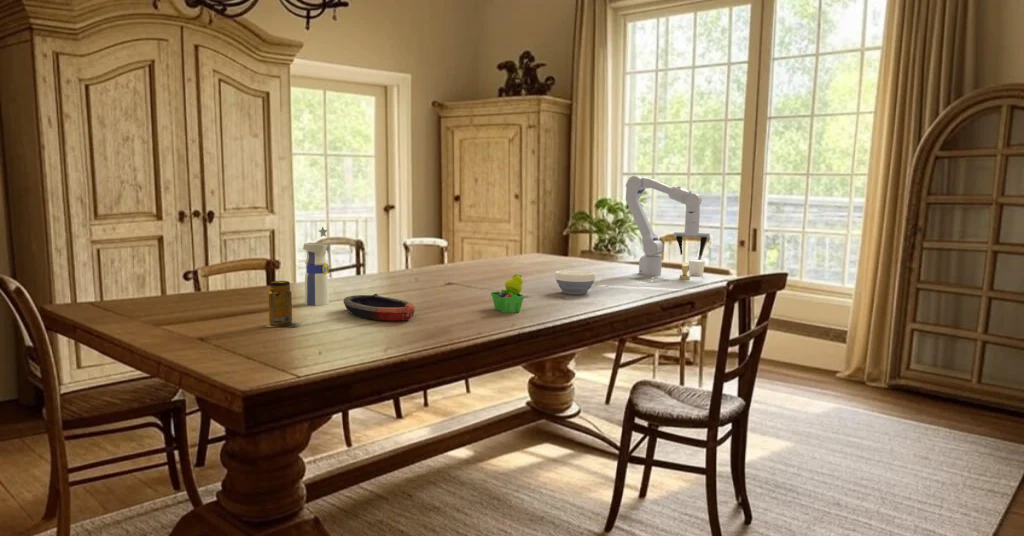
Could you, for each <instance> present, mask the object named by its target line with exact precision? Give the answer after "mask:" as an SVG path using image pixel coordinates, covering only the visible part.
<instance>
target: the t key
mask: <svg viewBox="0 0 1024 536" xmlns="http://www.w3.org/2000/svg"><path fill="white" fill-rule="evenodd" d="M681 272H682V274H679V280H685V281H688V280H689V281H690V279H691V275H689V274H688V272H689V263H682V264H681Z"/></svg>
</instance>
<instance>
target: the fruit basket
mask: <svg viewBox="0 0 1024 536" xmlns="http://www.w3.org/2000/svg"><path fill="white" fill-rule="evenodd" d="M523 283H524V279H523V278H522V275H521V274H518V273H514V275H513V276H512V277H511V278H510V279H508V280H506V281H505V283H504V287H505V289H501V291H492V292H490V295H491V297H492V301H493V306H494V309H496V310H498V311H500V312H502V313H504V314H506V313H508V314H509V313H520V312H521V308H522V305H523V302H524V299H525V296H524V295H523V294H522V293H521V292H522V290H523ZM520 293H521V294H520Z"/></svg>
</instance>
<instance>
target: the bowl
mask: <svg viewBox="0 0 1024 536" xmlns="http://www.w3.org/2000/svg"><path fill="white" fill-rule="evenodd" d="M554 279H555V281H556V283H557V285H558V287H559V289H560V290H561V292H562V293H563V294H564V295H569V296H570V295H571V296H583V295H586V294H587V293H588V291H589V290H590V289H591V288H592V285H593V284H594V282H595V280H596V273H595V272H594V271H591V270H590V271H589V270H578V269H563V270H556V271H555V273H554Z"/></svg>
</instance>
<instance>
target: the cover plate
mask: <svg viewBox="0 0 1024 536" xmlns="http://www.w3.org/2000/svg"><path fill="white" fill-rule="evenodd" d="M628 280H633V281H638V282H644V283H649V284H657V283H670V282H677V280H676V279H675V280H674V279H669V278H665V277H658V276H643V277H632V278H628Z"/></svg>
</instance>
